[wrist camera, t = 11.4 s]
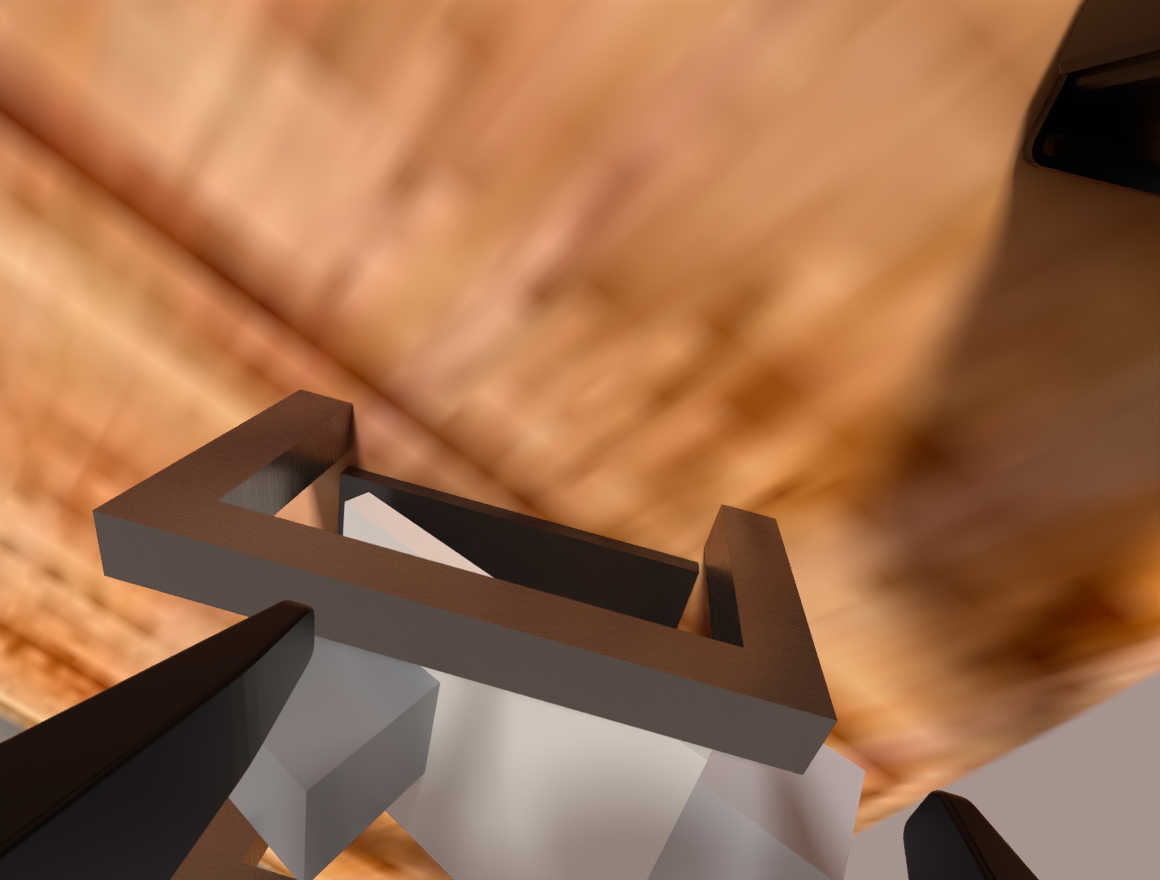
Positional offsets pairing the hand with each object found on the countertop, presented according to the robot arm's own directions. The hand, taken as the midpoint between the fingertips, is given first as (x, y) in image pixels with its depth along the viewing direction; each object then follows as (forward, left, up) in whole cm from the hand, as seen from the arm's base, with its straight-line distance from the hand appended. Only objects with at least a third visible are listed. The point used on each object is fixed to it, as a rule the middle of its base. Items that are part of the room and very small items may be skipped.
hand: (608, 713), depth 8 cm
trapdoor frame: (+3, +13, -13) cm, 18 cm away
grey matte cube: (+7, +13, -9) cm, 17 cm away
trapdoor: (-1, +13, -11) cm, 17 cm away
